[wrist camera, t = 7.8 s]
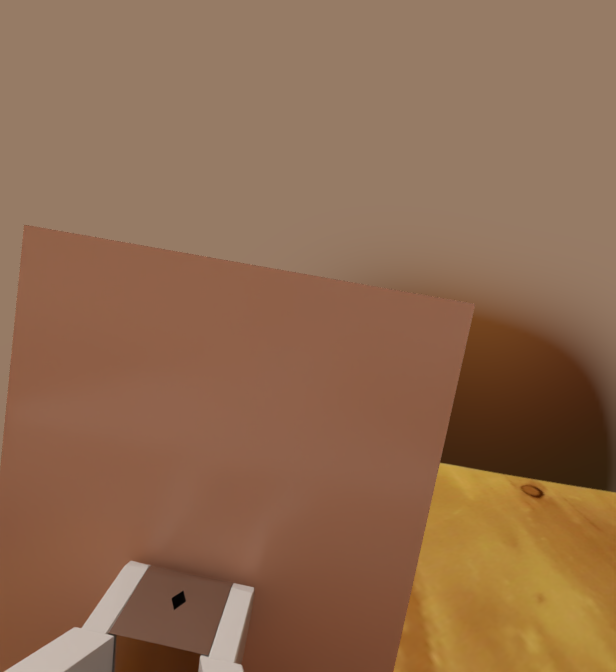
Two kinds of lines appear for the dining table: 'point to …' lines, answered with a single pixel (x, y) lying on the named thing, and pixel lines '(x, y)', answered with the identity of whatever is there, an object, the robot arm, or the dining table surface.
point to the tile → (221, 444)
